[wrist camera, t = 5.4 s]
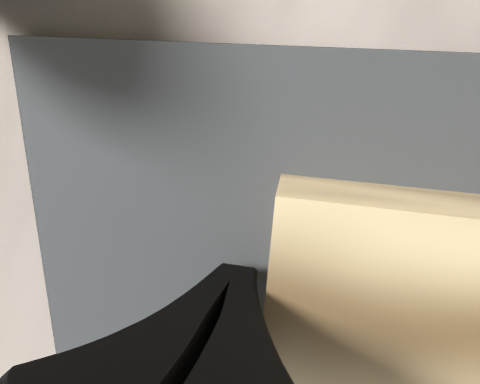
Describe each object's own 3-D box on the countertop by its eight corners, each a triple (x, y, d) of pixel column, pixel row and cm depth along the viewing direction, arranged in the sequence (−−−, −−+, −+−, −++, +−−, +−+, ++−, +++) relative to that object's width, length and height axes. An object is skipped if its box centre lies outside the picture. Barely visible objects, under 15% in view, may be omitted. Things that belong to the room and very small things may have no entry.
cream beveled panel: (474, 403, 12) (518, 482, 9) (261, 361, 13) (252, 420, 10) (553, 201, 9) (640, 237, 7) (280, 173, 10) (275, 196, 8)
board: (502, 504, 14) (514, 528, 13) (75, 400, 17) (65, 414, 16) (720, 66, 8) (762, 63, 7) (27, 39, 11) (7, 35, 11)
